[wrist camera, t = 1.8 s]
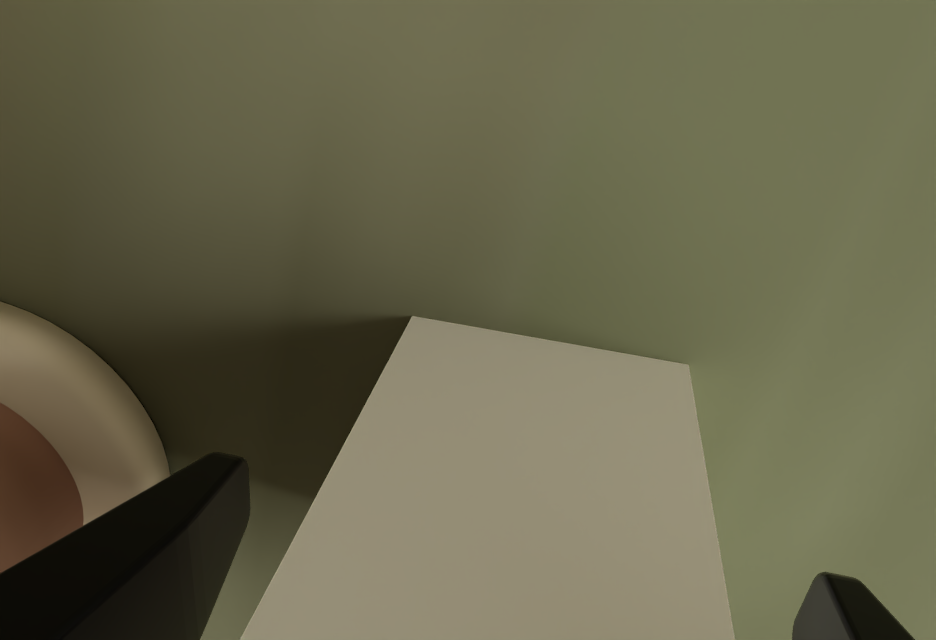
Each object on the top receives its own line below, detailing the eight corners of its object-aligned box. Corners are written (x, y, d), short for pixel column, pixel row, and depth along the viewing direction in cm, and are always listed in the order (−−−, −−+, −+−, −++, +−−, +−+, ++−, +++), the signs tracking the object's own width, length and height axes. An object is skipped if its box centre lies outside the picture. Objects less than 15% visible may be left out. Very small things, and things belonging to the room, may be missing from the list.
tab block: (631, 573, 13) (644, 1169, 7) (394, 524, 13) (199, 1044, 7) (688, 364, 11) (781, 923, 5) (412, 315, 11) (168, 774, 5)
